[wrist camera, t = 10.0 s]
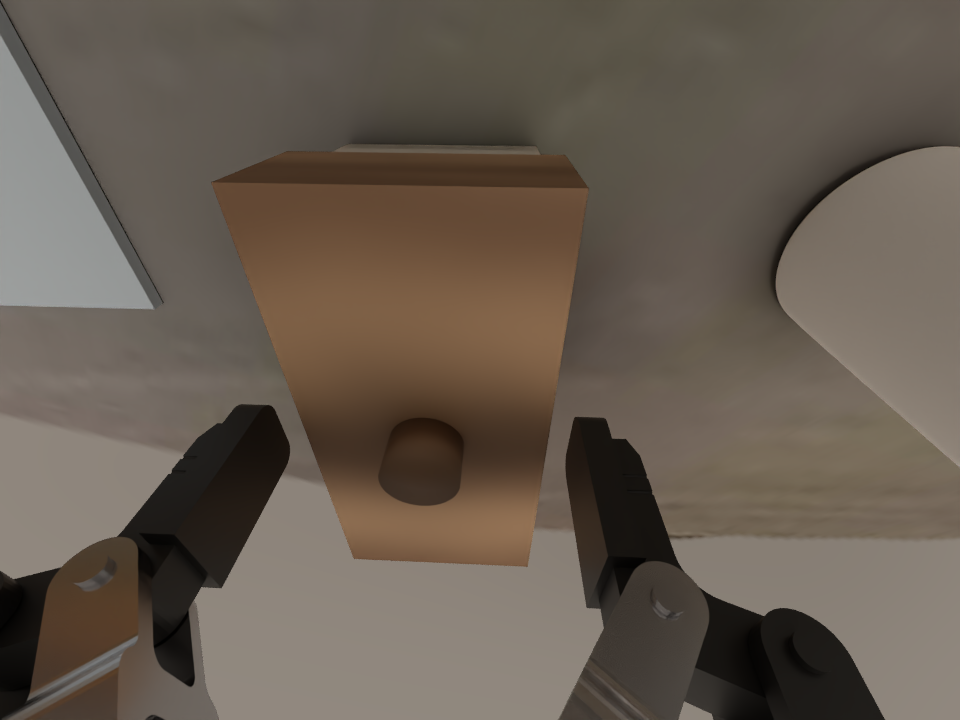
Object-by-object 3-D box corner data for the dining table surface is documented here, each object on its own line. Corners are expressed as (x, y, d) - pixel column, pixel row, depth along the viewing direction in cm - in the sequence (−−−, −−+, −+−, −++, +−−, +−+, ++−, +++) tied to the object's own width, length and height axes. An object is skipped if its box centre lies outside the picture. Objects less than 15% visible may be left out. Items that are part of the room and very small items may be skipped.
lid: (286, 151, 9) (162, 202, 6) (565, 155, 9) (603, 210, 6) (374, 488, 17) (343, 593, 14) (523, 494, 17) (529, 602, 13)
